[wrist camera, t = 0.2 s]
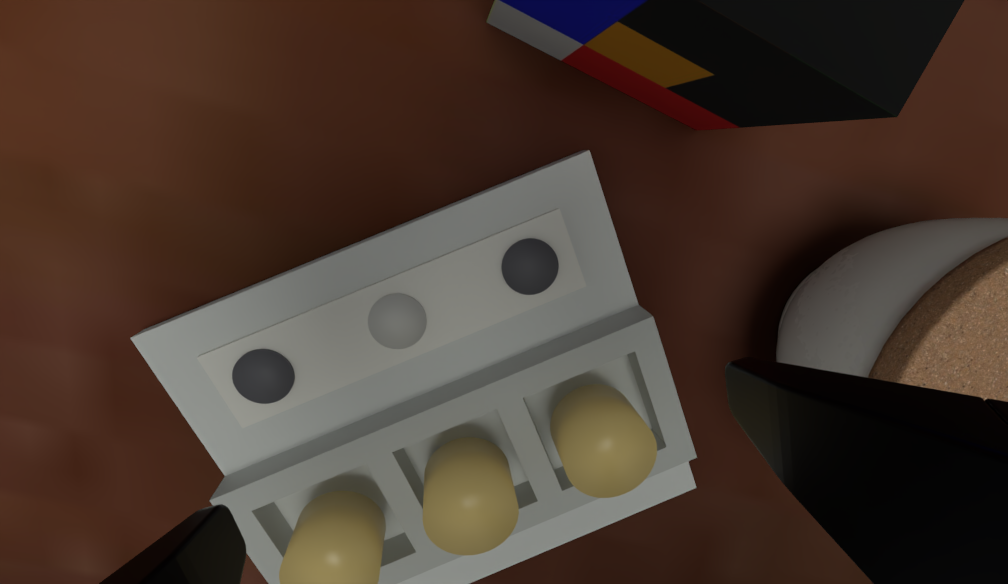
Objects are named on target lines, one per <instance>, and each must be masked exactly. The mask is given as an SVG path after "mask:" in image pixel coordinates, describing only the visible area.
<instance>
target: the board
mask: <svg viewBox="0 0 1008 584" xmlns="http://www.w3.org/2000/svg"><path fill="white" fill-rule="evenodd" d="M131 340H132V341H133V343H134V344H135V346H136V347H137V349H138V350H139V352H140V353H141V355H142V356H143V357H144V359H145V360H146V362H147V363H148V365H149V366H150V368H151V369H152V371H153V372H154V373H155V375H156V376H157V378H158V379H159V381H160V382H161V384H162V385H163V387H164V388H165V390H166V391H167V392H168V394H169V395H170V397H171V398H172V400H173V401H174V403H175V404H176V406H177V407H178V408H179V410H180V411H181V413H182V414H183V416H184V417H185V419H186V420H187V422H188V423H189V425H190V426H191V427H192V429H193V430H194V432H195V433H196V435H197V436H198V438H199V439H200V441H201V442H202V443H203V445H204V446H205V448H206V449H207V451H208V452H209V454H210V455H211V457H212V458H213V460H214V461H215V462H216V464H217V465H218V467H219V468H220V470H221V471H222V473H223V474H224V476H225V477H224V479H223V480H222V482H221V483H220V485H219V486H218V488H217V490H216V491H215V493H214V494H213V496H212V497H211V499H210V500H209V501H210V502H211V503H212V505H213V506H215V505H219V504H223V505H225V506H227V507H228V508H229V510H230V511H231V513H232V515H233V517H234V519H235V521H236V524H237V526H238V528H239V530H240V532H241V534H242V536H243V538H244V541H245V544H246V553H247V554H248V555H249V557H250V558H251V560H252V561H253V562H254V564H255V565H256V567H257V568H258V569H259V571H260V572H261V574H262V575H263V576H264V578H265V579H266V581H267V582H268V584H280V581H279V571H280V567H281V563H282V561H283V558H284V555H285V553H286V550H287V547H288V545H289V542H290V539H291V537H292V534H293V531H294V529H295V526H296V523H297V521H298V518H299V516H300V513H301V512H302V510H303V509H304V507H305V506H306V505H307V504H308V503H309V502H310V501H312V500H313V499H315V498H316V497H318V496H320V495H323V494H325V493H329V492H333V491H352V492H357V493H360V494H362V495H364V496H367V497H368V498H370V499H371V500H373V501H374V502H375V503H376V504H377V505H378V506H379V507H380V509H381V510H382V512H383V514H384V517H385V522H386V530H385V538H384V545H383V553H382V560H381V568H380V575H379V581H378V584H469V583H472V582H474V581H476V580H479V579H481V578H483V577H486V576H488V575H491V574H493V573H495V572H498V571H500V570H502V569H505V568H507V567H510V566H512V565H514V564H517V563H519V562H521V561H524V560H526V559H529V558H531V557H533V556H536V555H538V554H540V553H543V552H545V551H547V550H550V549H552V548H555V547H557V546H559V545H562V544H564V543H566V542H569V541H571V540H574V539H576V538H578V537H581V536H583V535H585V534H588V533H590V532H593V531H595V530H597V529H600V528H602V527H604V526H607V525H609V524H611V523H614V522H616V521H619V520H621V519H623V518H626V517H628V516H630V515H633V514H635V513H638V512H640V511H642V510H645V509H647V508H649V507H652V506H654V505H657V504H659V503H661V502H664V501H666V500H668V499H671V498H673V497H676V496H678V495H680V494H683V493H685V492H687V491H690V490H692V489H694V488H696V485H695V481H694V478H693V475H692V472H691V469H690V466H689V462H688V461H690V460H692V459H695V458H697V456H696V453H695V450H694V446H693V443H692V440H691V437H690V433H689V430H688V427H687V424H686V421H685V417H684V414H683V411H682V408H681V404H680V401H679V398H678V395H677V391H676V388H675V385H674V382H673V379H672V375H671V372H670V369H669V366H668V362H667V359H666V356H665V353H664V349H663V346H662V343H661V340H660V336H659V333H658V330H657V327H656V324H655V320H654V317H653V316H652V315H651V314H650V313H648V312H647V311H646V310H645V309H643V308H642V307H641V306H639V305H638V302H637V298H636V295H635V292H634V289H633V286H632V283H631V279H630V276H629V273H628V270H627V267H626V264H625V261H624V257H623V254H622V251H621V248H620V245H619V242H618V238H617V235H616V232H615V229H614V226H613V223H612V220H611V216H610V213H609V210H608V207H607V204H606V201H605V197H604V194H603V191H602V188H601V185H600V182H599V178H598V175H597V172H596V169H595V166H594V163H593V160H592V156H591V153H590V150H582V151H579V152H577V153H574V154H572V155H570V156H567V157H565V158H562V159H560V160H557V161H555V162H552V163H550V164H548V165H545V166H543V167H540V168H538V169H535V170H533V171H530V172H528V173H526V174H523V175H521V176H518V177H516V178H513V179H511V180H508V181H506V182H504V183H501V184H499V185H496V186H494V187H491V188H489V189H486V190H484V191H482V192H479V193H477V194H474V195H472V196H469V197H467V198H464V199H462V200H459V201H457V202H455V203H452V204H450V205H447V206H445V207H442V208H440V209H437V210H435V211H433V212H430V213H428V214H425V215H423V216H420V217H418V218H415V219H413V220H411V221H408V222H406V223H403V224H401V225H398V226H396V227H393V228H391V229H389V230H386V231H384V232H381V233H379V234H376V235H374V236H371V237H369V238H367V239H364V240H362V241H359V242H357V243H354V244H352V245H349V246H347V247H345V248H342V249H340V250H337V251H335V252H332V253H330V254H327V255H325V256H323V257H320V258H318V259H315V260H313V261H310V262H308V263H305V264H303V265H301V266H298V267H296V268H293V269H291V270H288V271H286V272H283V273H281V274H278V275H276V276H274V277H271V278H269V279H266V280H264V281H261V282H259V283H256V284H254V285H252V286H249V287H247V288H244V289H242V290H239V291H237V292H234V293H232V294H230V295H227V296H225V297H222V298H220V299H217V300H215V301H212V302H210V303H208V304H205V305H203V306H200V307H198V308H195V309H193V310H190V311H188V312H186V313H183V314H181V315H178V316H176V317H173V318H171V319H168V320H166V321H164V322H161V323H159V324H156V325H154V326H151V327H149V328H146V329H144V330H142V331H141V332H139V333H138V334H136V335H134V336H133V337H131ZM591 384H602V385H607V386H611V387H613V388H615V389H617V390H618V391H620V392H621V393H622V394H623V395H624V396H625V397H626V398H627V399H628V401H629V402H630V403H631V405H632V406H633V407H634V409H635V410H636V411H637V412H638V414H639V415H640V416H641V418H642V419H643V420H644V422H645V423H646V424H647V426H648V427H649V428H650V430H651V431H652V433H653V435H654V437H655V440H656V443H657V456H656V461H655V464H654V466H653V468H652V470H651V472H650V474H649V475H648V476H647V478H646V479H645V480H644V481H643V482H642V483H641V484H640V485H639V486H637V487H636V488H634V489H633V490H631V491H629V492H627V493H625V494H623V495H620V496H616V497H611V498H597V497H592V496H589V495H586V494H584V493H582V492H580V491H579V490H578V489H576V488H575V487H574V486H573V485H572V483H571V482H570V481H569V479H568V477H567V474H566V472H565V469H564V467H563V464H562V462H561V459H560V457H559V454H558V452H557V449H556V447H555V444H554V442H553V439H552V436H551V432H550V422H551V417H552V414H553V412H554V409H555V408H556V406H557V405H558V403H559V402H560V401H561V400H562V399H563V398H564V397H565V396H566V395H567V394H568V393H570V392H571V391H573V390H575V389H577V388H579V387H582V386H586V385H591ZM465 437H475V438H481V439H485V440H487V441H490V442H492V443H493V444H495V445H496V446H498V447H499V448H500V449H501V450H502V451H503V453H504V454H505V456H506V458H507V460H508V463H509V467H510V471H511V476H512V480H513V484H514V489H515V493H516V498H517V502H518V507H519V515H518V521H517V524H516V526H515V528H514V530H513V532H512V533H511V535H510V536H509V537H508V538H507V539H506V540H505V541H504V542H503V543H502V544H500V545H499V546H497V547H496V548H494V549H492V550H490V551H487V552H485V553H481V554H477V555H456V554H452V553H449V552H446V551H444V550H442V549H440V548H439V547H437V546H436V545H435V544H434V543H433V542H432V541H431V540H430V539H429V537H428V536H427V534H426V532H425V530H424V526H423V495H424V472H425V468H426V465H427V462H428V460H429V459H430V457H431V456H432V454H433V453H434V452H435V451H436V450H437V449H438V448H440V447H441V446H442V445H444V444H446V443H448V442H450V441H452V440H455V439H459V438H465Z"/></svg>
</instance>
